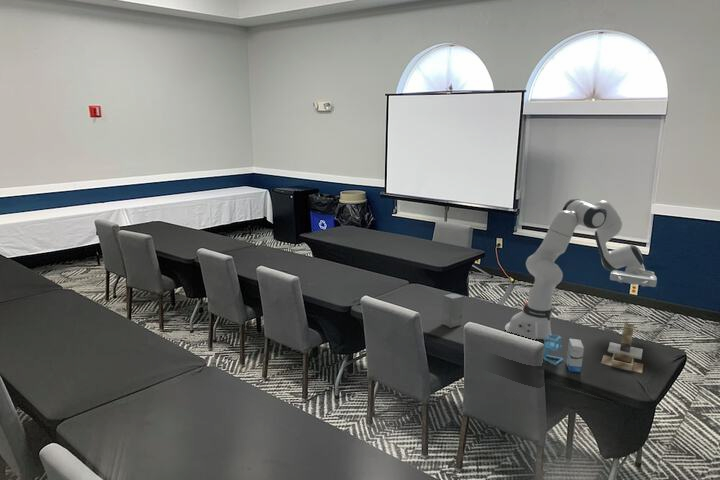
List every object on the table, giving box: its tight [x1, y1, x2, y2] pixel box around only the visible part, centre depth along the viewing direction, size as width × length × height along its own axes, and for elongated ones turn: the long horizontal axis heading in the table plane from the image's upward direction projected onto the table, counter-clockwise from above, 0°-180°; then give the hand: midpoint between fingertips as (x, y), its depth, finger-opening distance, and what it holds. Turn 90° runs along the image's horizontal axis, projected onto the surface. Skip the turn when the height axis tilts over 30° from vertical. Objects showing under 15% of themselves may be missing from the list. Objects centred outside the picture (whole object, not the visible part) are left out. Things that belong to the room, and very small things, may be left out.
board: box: [607, 341, 644, 360], centre depth 244 cm, size 14×10×1 cm
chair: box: [542, 334, 564, 367], centre depth 234 cm, size 8×8×12 cm
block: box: [620, 322, 635, 353], centre depth 243 cm, size 4×5×12 cm
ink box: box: [565, 338, 585, 373], centre depth 227 cm, size 8×5×12 cm, turn 168°
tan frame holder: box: [600, 352, 644, 375], centre depth 232 cm, size 16×9×3 cm, turn 59°
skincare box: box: [441, 293, 464, 329], centre depth 269 cm, size 8×7×16 cm
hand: (631, 282), depth 248 cm, fingers open, 8 cm apart
